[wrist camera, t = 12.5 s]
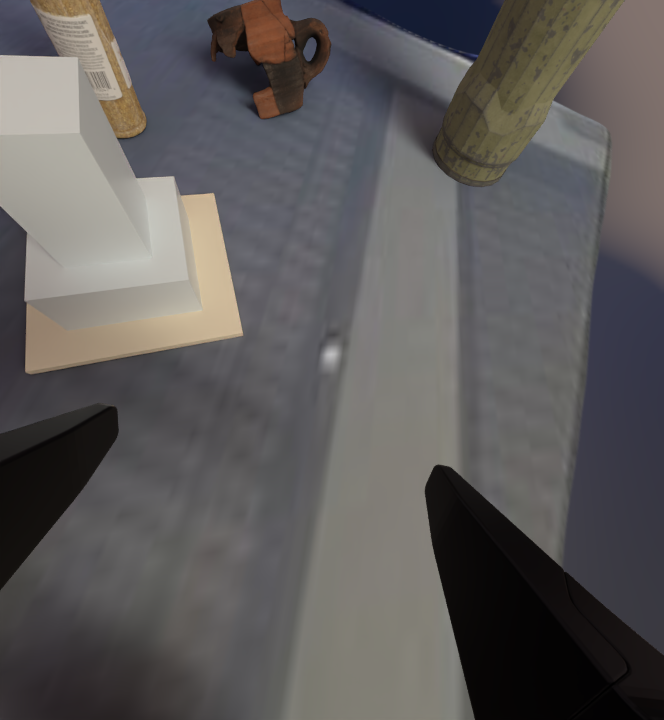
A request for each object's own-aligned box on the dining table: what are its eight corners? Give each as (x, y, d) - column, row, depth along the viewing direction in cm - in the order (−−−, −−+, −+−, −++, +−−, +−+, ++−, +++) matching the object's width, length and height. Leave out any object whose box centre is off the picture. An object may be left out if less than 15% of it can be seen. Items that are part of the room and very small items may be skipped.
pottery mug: (235, 131, 33) (193, 16, 27) (236, 118, 39) (203, 23, 33) (346, 97, 32) (328, -27, 27) (328, 89, 39) (311, -11, 33)
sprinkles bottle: (155, 116, 31) (71, -128, 18) (135, 147, 29) (26, -100, 17) (108, 102, 30) (-10, -157, 18) (85, 132, 29) (-64, -131, 16)
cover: (202, 310, 24) (136, 166, 13) (67, 330, 22) (-152, 179, 11) (188, 218, 27) (123, 33, 16) (66, 228, 25) (-109, 23, 13)
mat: (243, 335, 24) (242, 332, 24) (30, 374, 21) (25, 372, 21) (214, 197, 28) (213, 193, 28) (33, 212, 25) (29, 207, 25)
